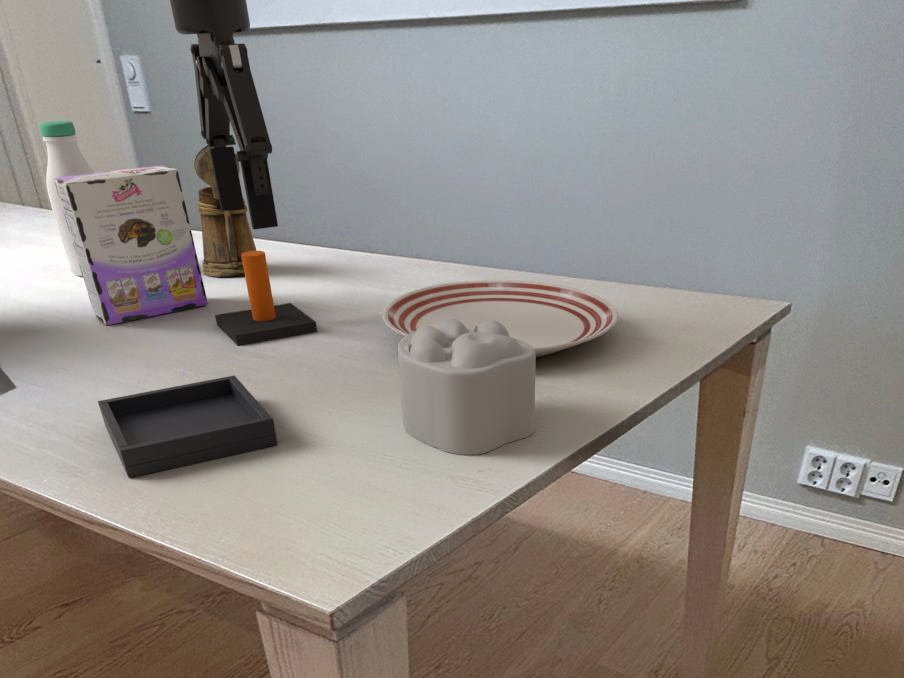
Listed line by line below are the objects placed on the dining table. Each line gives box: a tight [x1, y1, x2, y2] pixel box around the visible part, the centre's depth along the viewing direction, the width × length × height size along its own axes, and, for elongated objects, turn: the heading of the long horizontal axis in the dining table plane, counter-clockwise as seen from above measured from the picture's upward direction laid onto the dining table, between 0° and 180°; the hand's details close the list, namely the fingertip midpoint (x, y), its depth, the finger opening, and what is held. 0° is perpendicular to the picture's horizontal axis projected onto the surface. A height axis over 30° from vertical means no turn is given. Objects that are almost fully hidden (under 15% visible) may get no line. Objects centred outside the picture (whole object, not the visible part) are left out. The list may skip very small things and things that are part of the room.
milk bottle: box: [38, 120, 95, 277], centre depth 123 cm, size 8×8×20 cm
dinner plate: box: [382, 279, 619, 358], centre depth 97 cm, size 28×27×3 cm
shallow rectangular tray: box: [97, 375, 279, 479], centre depth 76 cm, size 13×13×2 cm
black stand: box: [214, 250, 318, 346], centre depth 101 cm, size 10×10×9 cm
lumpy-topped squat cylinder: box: [397, 319, 537, 456], centre depth 75 cm, size 10×13×9 cm
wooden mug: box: [194, 144, 258, 278], centre depth 120 cm, size 9×14×18 cm, turn 19°
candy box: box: [54, 164, 209, 326], centre depth 105 cm, size 14×6×16 cm, turn 126°
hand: (248, 218), depth 96 cm, fingers open, 13 cm apart
